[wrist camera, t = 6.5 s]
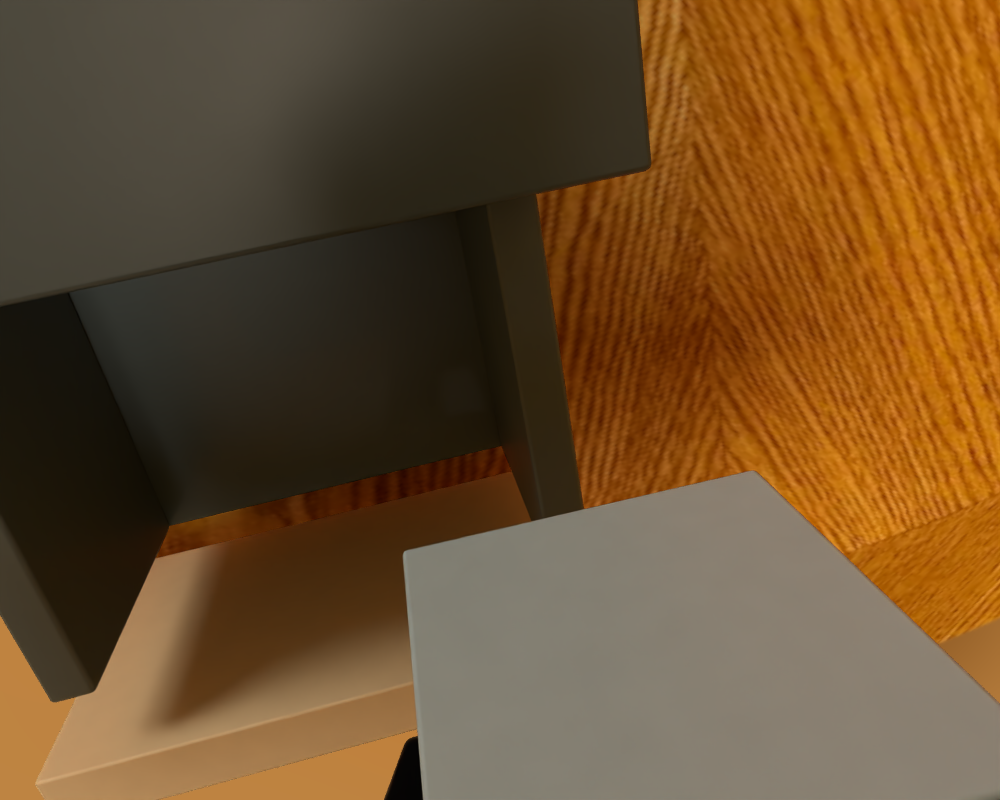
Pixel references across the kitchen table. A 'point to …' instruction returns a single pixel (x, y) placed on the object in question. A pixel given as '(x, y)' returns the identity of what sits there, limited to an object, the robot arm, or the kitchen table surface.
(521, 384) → the drawer
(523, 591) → the block
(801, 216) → the kitchen table surface
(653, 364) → the kitchen table surface
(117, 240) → the cabinet
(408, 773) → the robot arm
